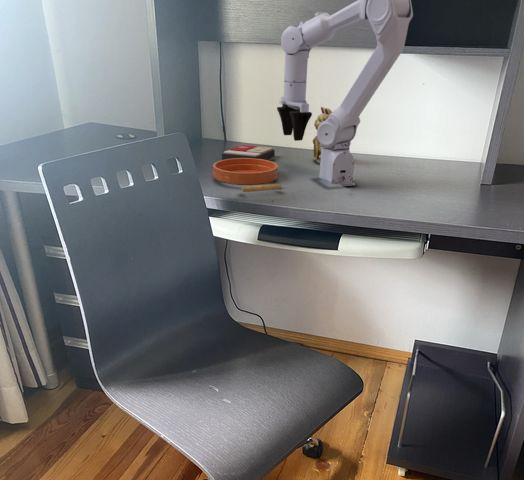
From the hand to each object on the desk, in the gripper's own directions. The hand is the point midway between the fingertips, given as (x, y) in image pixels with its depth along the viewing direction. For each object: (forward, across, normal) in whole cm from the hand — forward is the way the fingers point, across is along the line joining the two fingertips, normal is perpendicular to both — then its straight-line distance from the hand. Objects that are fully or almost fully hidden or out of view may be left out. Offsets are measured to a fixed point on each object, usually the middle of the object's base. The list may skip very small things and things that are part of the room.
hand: (292, 137), depth 145 cm
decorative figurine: (+2, -10, +15) cm, 18 cm away
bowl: (+9, +4, -15) cm, 18 cm away
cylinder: (+9, +18, -15) cm, 25 cm away
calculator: (+10, -15, -8) cm, 19 cm away
